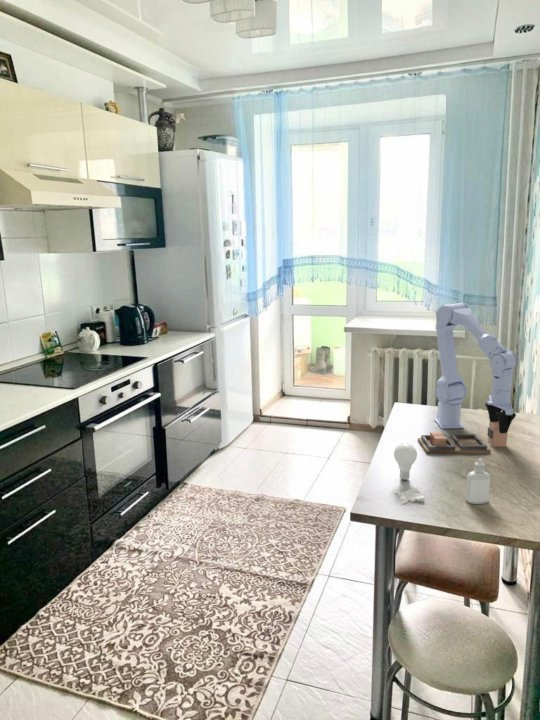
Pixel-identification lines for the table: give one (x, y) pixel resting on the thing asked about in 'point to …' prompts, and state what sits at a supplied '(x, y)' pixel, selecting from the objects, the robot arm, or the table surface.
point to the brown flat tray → (452, 444)
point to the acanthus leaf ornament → (410, 495)
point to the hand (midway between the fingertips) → (498, 428)
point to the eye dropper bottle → (478, 484)
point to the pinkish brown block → (496, 435)
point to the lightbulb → (405, 458)
